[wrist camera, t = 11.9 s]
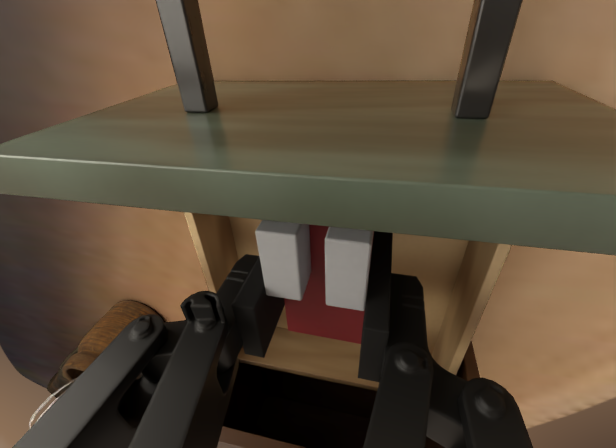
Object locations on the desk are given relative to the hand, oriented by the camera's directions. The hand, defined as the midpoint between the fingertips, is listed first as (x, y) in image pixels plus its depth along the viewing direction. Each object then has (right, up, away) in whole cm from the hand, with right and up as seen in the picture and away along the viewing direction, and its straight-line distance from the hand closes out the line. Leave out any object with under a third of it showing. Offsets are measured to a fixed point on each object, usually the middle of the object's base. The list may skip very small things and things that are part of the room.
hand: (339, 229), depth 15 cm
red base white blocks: (0, +1, +1) cm, 1 cm away
